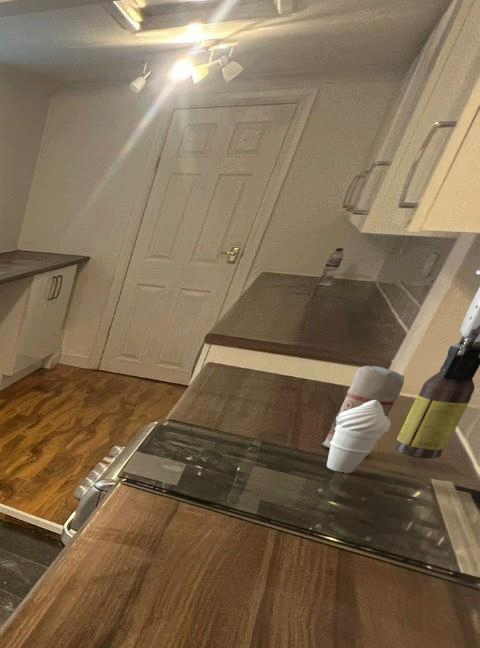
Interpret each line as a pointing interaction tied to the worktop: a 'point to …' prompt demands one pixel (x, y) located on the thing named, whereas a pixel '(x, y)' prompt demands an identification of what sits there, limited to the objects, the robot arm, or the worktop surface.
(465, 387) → the sauce bottle
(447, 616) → the worktop surface
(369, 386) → the spray can
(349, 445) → the ice cream cone
